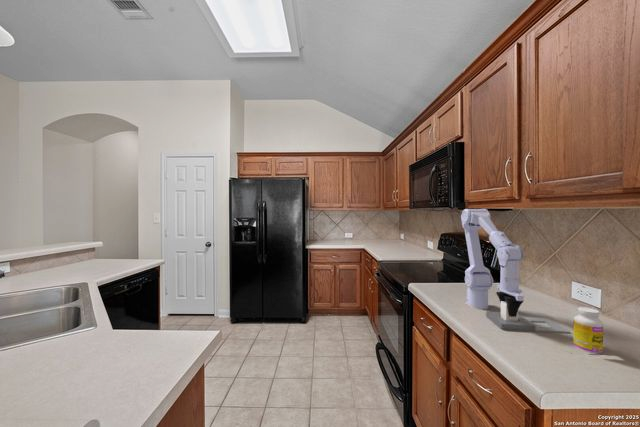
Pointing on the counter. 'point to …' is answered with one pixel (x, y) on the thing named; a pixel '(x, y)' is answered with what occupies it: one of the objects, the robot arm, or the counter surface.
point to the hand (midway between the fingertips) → (509, 313)
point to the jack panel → (525, 324)
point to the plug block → (505, 312)
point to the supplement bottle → (588, 331)
